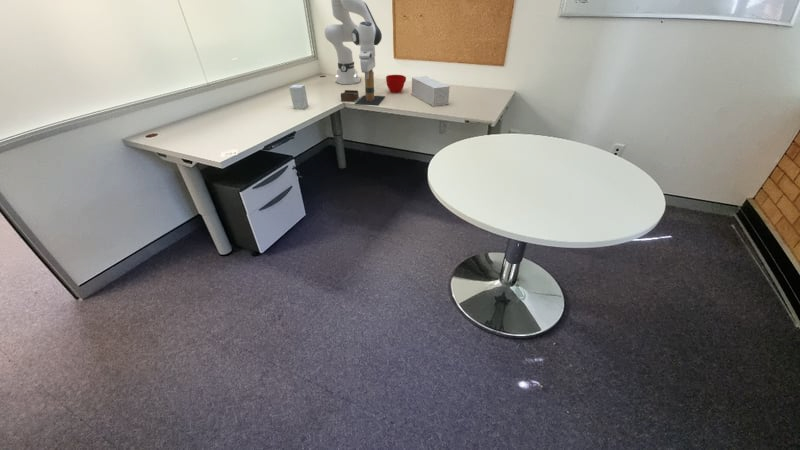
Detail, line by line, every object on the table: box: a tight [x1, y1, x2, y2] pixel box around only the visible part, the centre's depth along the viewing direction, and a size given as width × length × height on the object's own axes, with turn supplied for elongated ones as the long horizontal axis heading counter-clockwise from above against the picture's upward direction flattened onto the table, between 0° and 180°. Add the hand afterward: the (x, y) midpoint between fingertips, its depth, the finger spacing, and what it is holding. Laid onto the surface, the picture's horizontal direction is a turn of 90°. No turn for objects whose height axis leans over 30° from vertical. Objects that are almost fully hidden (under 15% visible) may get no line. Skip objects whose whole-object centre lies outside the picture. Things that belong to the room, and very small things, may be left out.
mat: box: [354, 94, 386, 106], centre depth 215 cm, size 20×15×1 cm
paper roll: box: [364, 70, 375, 101], centre depth 210 cm, size 17×6×6 cm
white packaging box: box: [289, 84, 309, 110], centre depth 200 cm, size 7×7×13 cm
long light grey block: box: [411, 75, 450, 107], centre depth 214 cm, size 32×11×11 cm, turn 23°
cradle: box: [340, 89, 360, 103], centre depth 216 cm, size 10×9×5 cm
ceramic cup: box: [385, 74, 407, 94], centre depth 231 cm, size 13×17×10 cm
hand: (369, 77), depth 207 cm, fingers closed on paper roll, 6 cm apart
